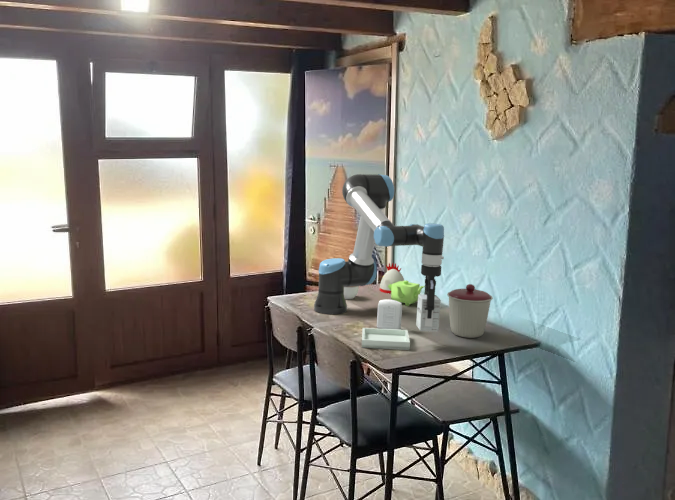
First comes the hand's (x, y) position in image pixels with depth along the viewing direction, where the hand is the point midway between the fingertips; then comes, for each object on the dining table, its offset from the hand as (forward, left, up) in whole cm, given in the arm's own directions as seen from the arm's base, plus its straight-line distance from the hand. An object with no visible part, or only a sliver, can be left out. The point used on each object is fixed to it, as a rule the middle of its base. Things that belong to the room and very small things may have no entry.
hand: (427, 322), depth 242 cm
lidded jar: (-33, +70, -9) cm, 77 cm away
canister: (+18, +17, -9) cm, 26 cm away
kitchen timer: (-10, +90, -9) cm, 91 cm away
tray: (-16, +1, -9) cm, 18 cm away
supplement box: (0, 0, -2) cm, 2 cm away
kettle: (-5, +64, -9) cm, 64 cm away
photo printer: (-14, +20, -9) cm, 26 cm away
